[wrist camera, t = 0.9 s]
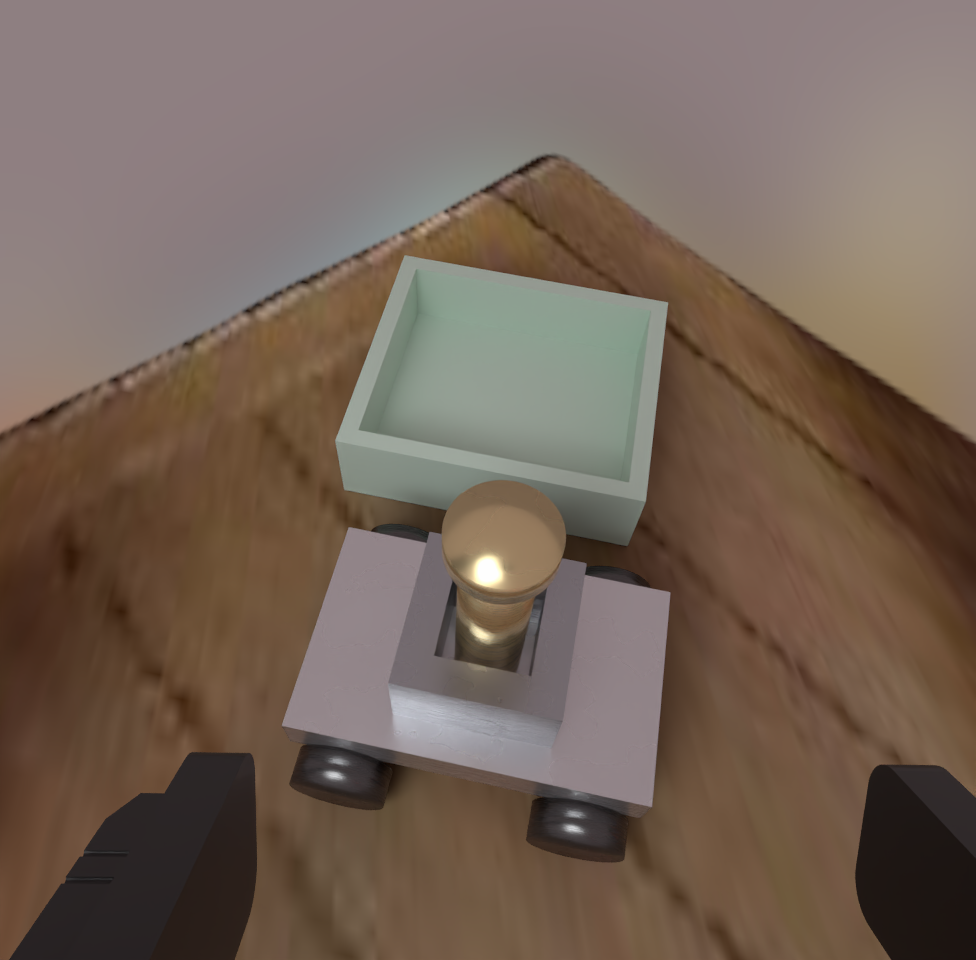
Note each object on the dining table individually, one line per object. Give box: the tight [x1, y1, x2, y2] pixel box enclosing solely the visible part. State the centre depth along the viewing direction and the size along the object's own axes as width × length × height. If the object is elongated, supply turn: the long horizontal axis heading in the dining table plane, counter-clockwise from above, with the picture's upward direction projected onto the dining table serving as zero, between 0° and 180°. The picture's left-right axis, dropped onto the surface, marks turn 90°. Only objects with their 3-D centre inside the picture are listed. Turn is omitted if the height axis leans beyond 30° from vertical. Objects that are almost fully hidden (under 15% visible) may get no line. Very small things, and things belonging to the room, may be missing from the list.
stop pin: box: [442, 480, 566, 673], centre depth 32 cm, size 4×4×12 cm
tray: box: [335, 255, 668, 546], centre depth 50 cm, size 17×15×5 cm
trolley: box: [282, 524, 670, 862], centre depth 38 cm, size 16×13×10 cm
